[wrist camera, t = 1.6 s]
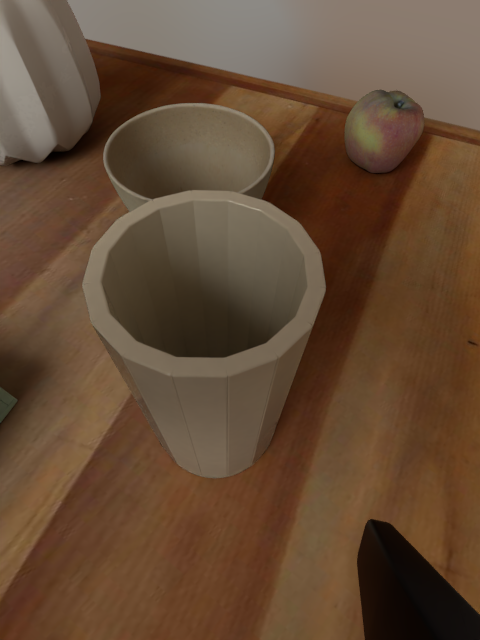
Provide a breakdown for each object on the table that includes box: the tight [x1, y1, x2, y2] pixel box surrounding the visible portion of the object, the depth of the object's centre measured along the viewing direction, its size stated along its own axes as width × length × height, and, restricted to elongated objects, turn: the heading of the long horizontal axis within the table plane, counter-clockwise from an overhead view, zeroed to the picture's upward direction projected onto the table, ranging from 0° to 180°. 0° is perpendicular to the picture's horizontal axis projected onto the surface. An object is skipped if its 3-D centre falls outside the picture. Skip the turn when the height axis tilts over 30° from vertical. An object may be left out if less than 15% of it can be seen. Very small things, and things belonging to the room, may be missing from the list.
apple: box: [345, 90, 424, 173], centre depth 31 cm, size 6×8×6 cm
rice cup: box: [82, 190, 326, 478], centre depth 15 cm, size 6×6×12 cm
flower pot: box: [103, 103, 275, 211], centre depth 25 cm, size 10×10×7 cm
